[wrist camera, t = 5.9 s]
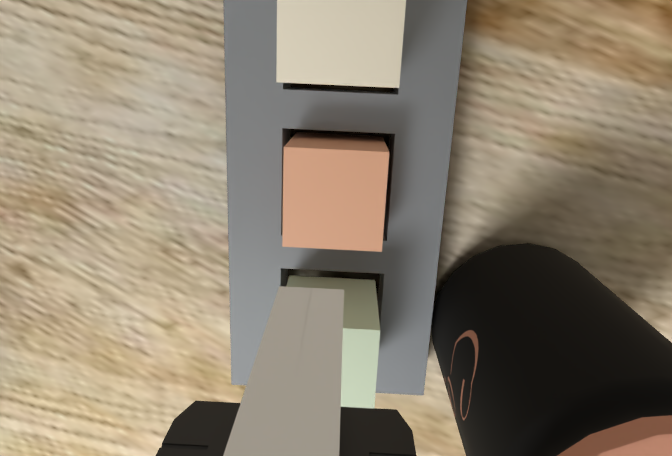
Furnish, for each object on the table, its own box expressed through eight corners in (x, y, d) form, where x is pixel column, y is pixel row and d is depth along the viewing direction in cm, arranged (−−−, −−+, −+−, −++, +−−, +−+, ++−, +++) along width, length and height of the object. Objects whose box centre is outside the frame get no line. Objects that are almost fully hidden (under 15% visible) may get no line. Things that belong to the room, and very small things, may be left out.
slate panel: (243, 354, 35) (231, 384, 32) (237, -69, 27) (221, -89, 24) (416, 364, 35) (423, 395, 32) (460, -60, 27) (476, -79, 24)
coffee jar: (411, 259, 33) (477, 469, 15) (580, 218, 31) (852, 396, 14) (445, 397, 36) (532, 701, 18) (600, 364, 34) (847, 656, 17)
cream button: (292, 79, 26) (276, 82, 21) (294, -27, 25) (277, -56, 19) (389, 84, 26) (399, 87, 21) (396, -23, 25) (409, -50, 19)
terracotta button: (295, 214, 31) (282, 246, 25) (296, 132, 30) (283, 146, 24) (376, 218, 31) (381, 251, 25) (382, 136, 30) (389, 152, 24)
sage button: (288, 350, 31) (273, 413, 25) (289, 275, 30) (274, 324, 24) (369, 355, 31) (373, 419, 25) (375, 279, 30) (380, 330, 24)
